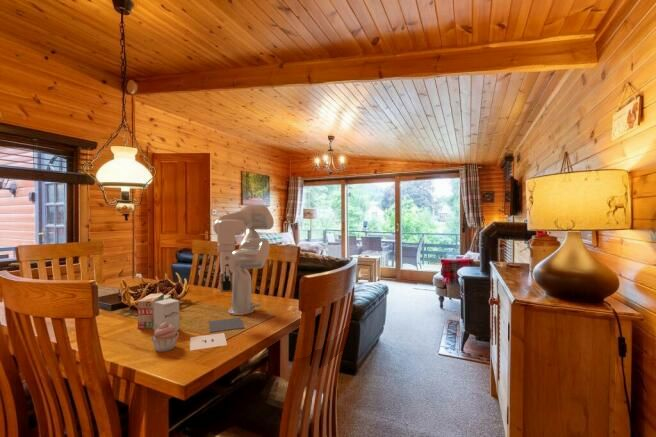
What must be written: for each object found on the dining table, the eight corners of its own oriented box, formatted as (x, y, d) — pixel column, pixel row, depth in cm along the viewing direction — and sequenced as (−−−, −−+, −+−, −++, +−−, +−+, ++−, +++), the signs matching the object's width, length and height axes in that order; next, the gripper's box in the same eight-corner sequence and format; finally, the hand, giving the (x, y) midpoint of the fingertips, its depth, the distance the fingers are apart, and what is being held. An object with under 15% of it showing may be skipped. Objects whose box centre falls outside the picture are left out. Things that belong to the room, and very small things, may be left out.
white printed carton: (158, 313, 158) (158, 288, 158) (171, 313, 159) (171, 288, 159) (137, 329, 137) (137, 300, 137) (152, 328, 138) (152, 300, 137)
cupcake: (175, 353, 113) (175, 325, 113) (147, 355, 112) (147, 327, 111) (182, 342, 123) (182, 317, 122) (155, 344, 121) (155, 318, 120)
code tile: (224, 333, 132) (224, 332, 132) (227, 345, 120) (227, 344, 120) (190, 337, 127) (190, 337, 127) (189, 350, 115) (189, 350, 115)
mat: (240, 318, 151) (240, 317, 151) (244, 328, 138) (244, 327, 138) (208, 322, 145) (208, 321, 145) (210, 333, 132) (210, 331, 132)
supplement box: (163, 335, 130) (163, 304, 130) (153, 331, 134) (153, 301, 134) (179, 329, 136) (179, 300, 136) (169, 326, 140) (169, 297, 140)
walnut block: (231, 289, 144) (231, 271, 144) (232, 291, 140) (232, 273, 140) (219, 289, 143) (219, 272, 142) (220, 292, 138) (220, 274, 138)
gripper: (237, 249, 135) (237, 292, 135) (232, 245, 150) (232, 284, 150) (218, 250, 132) (218, 293, 132) (216, 246, 147) (216, 285, 148)
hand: (226, 288), depth 141 cm, fingers closed on walnut block, 5 cm apart
